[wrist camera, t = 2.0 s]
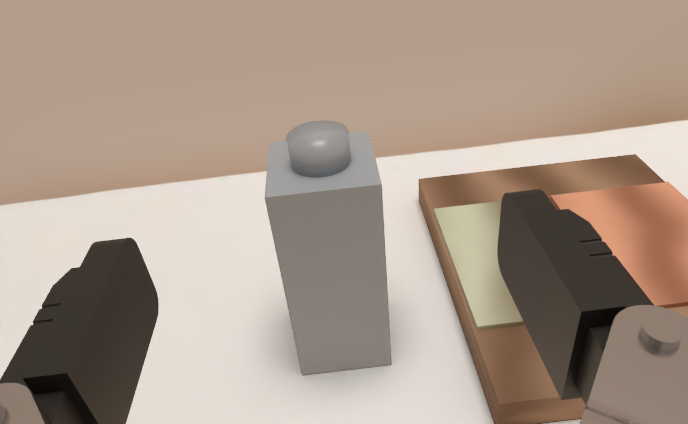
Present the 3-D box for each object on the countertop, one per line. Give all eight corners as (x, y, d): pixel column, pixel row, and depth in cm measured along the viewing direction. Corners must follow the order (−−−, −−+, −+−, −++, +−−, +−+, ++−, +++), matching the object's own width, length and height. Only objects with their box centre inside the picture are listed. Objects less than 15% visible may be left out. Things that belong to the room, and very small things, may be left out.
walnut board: (496, 428, 26) (500, 400, 24) (418, 200, 42) (418, 175, 41) (838, 387, 26) (861, 357, 25) (629, 176, 42) (636, 151, 41)
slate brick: (302, 375, 29) (258, 169, 22) (301, 310, 33) (264, 116, 26) (391, 364, 29) (380, 155, 22) (379, 300, 33) (366, 105, 26)
